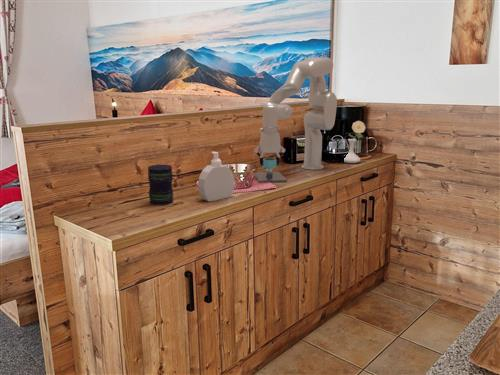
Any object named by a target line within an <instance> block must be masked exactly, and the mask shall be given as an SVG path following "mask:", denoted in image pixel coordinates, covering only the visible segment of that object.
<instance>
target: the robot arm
mask: <svg viewBox="0 0 500 375" xmlns="http://www.w3.org/2000/svg"><path fill="white" fill-rule="evenodd" d="M333 69H334V62H333V60H332V58H330V57H326V56H325V57H307V58H305V59H304V60H300V61H296V62H295V63H294V64H293V66H292V69H291V70H290V72H289V75H288V76H287V79H286V81H285V82H284V84H283V85H281V86H280V87H279V88H278V89H277V90H275V91H274V93H272V95H271V96H270V97H269V99H268V101H267V103H266V104H265V105H263V106H262V107H263V108H262V126H261V127H259V131H261V134H260V136H259V137H260V138H259V144H258V145H257V147H255V148H254V149H253V152H255V154H256V155H257V156H258V157H259V164H260V166H261V167H262V166H263V159H264V155H265V154H275V155H276V156H275V158H276V159H277V167H278V166H279V164H280V159H281V156H282V155H284V153H285V152H286V148H284V147H283V146H282V145H281V137H280V136H281V135H280V132H278V130H279V128H278V126H279V120H287V119H289V118H291V117H292V115H293V108H292V107H291V106H290V105H288V104H285V103H282V102H283V101H284V100H286V99H287V98H290V97H292V96H295V95H297V94H299V92H300V91H301V89H302V87H303V84H304V83H305V81H306V79H309V82H310V83H309V91H308V106H309V107H310V108H311V109H316V110H314V111H313V110H311V111H308V112H306V113H305V114H304V116H303V126H304V157H303V158H304V160H303V164H301V166H300V168H301V169H304V170H312V171H313V170H314V171H316V170H317V171H319V170H323V169H324V165H323V164H322V152H323V149H322V148H323V134H322V132H321V130H324V131H330V130H332V129H333V127H334V126H335V121H336V116H337V115H336V114H337V105H338V99H337V95H336V93H334V92H332V91H326V90H327V89H326V87H327V85H326V84H327V82H326V79H325V76H326V75H329V74H331V72H332V71H333ZM317 110H323V111H317ZM258 150H259V151H258Z"/></svg>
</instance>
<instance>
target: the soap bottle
mask: <svg viewBox="0 0 500 375" xmlns="http://www.w3.org/2000/svg"><path fill="white" fill-rule="evenodd" d="M210 152H211V154H212V155H213V158H212V159H211V160H210V164H208V165H206V166H204V168H203V169H202V171H201V172H200V174H199V177H198V183H197V188H198V195H199V196H200V197H201V199H202V200H204V201H206V202H215V201H219V200H224V199H228V198H231V196H232V194H233V192H234V189H235V176H234V173H233V172H231V170H232V169H231V170H230V169H229V166H228V167H227V166H226V165H225V164H222V160H221V159H220V158H219V152H218V151H210Z"/></svg>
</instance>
